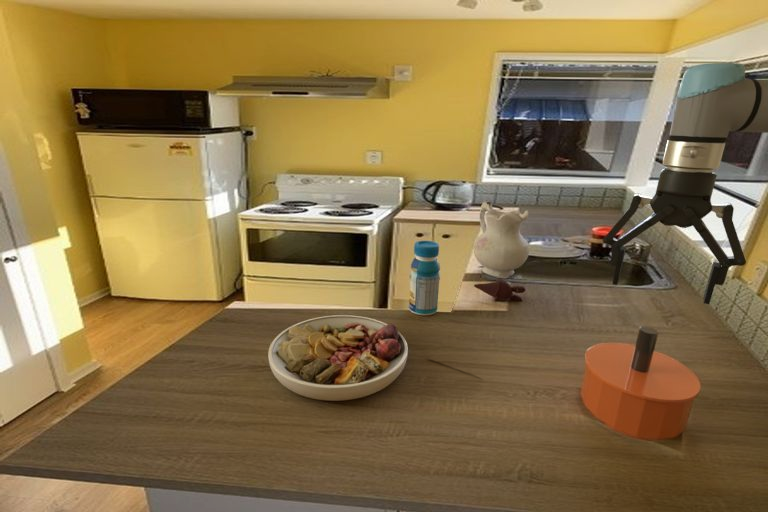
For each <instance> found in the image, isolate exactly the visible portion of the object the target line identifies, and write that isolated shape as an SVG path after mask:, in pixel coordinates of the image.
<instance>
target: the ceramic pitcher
mask: <svg viewBox="0 0 768 512" xmlns="http://www.w3.org/2000/svg"><path fill="white" fill-rule="evenodd" d="M492 203H493V201H492V200H487V199H484V200H483V201H482V204H481V206H480V210H479V223H480V228H481V231H482V233H481V234H480V235H478V236H477V237H475V239H474V242H473V254H474V257H475V259H476V261H477V262H478V263H479V264H480V265H481V266H483V267H482V268H481V270H480V271H481V273H483V274H486V275H489V276H491V277H493V278H497V279H508V278H510V277H511V276H513V275H515V270H517V269H519V268H520V267H522V266H523V265H524V264H525V262H526V261H527V260H528V258H529V255H530V250H531V249H530V248H531V247H530V243H529V242H528V241H527V239H525V238H524V237H523V236H522V234H521V227H522V224H523V223H524V222H525V221H526V220H527V219H528V217H529V210H525V211H524V213H521V212H520V211H519V210H518V211H517V210H511V211H506V212H504V211H500V210H495V209H494V208H493V204H492Z"/></svg>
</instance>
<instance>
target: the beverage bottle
mask: <svg viewBox="0 0 768 512" xmlns="http://www.w3.org/2000/svg"><path fill="white" fill-rule="evenodd" d="M439 253H440V244H439V243H438V242H436V241H433V240H432V241H431V240H418V241H416V242H415V243H414V247H413V254H414V256H415V257H414V258H413V260H412V261H411V264H410V269H411V271H410V273H409V299H408V300H409V301H408V310H409V311H410V312H411V313H412V314H414V315H416V316H417V315H418V316H432V315H434V314H436V313H437V311H438V304H439V303H438V302H439V289H440V280H441V274H440V271H441V265H440V261H439V260H438V258H437V257H439Z"/></svg>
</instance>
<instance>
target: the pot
mask: <svg viewBox="0 0 768 512" xmlns="http://www.w3.org/2000/svg"><path fill="white" fill-rule="evenodd" d="M579 395H580V397H581V400H582V403H583V405H584V406H585V408H587V410H589V412H591V413H592V415H593V416H595V417H596V418H597V419H598V420H600V421H599V422H600V423H601V424H603V426H606V427H607V428H609V429H610V430H613V431H616V432H618V433H620V434H622V435H625V436H627V437H631V438H634V439H638V440H642V441H648V442H652V439H653V440H658V441H659V440H667V439H673V438H674V439H675V438H677V437H678V436H679V435H681V433H683V432H684V431H685V430H686V427H687V424H688V420H689V417H690V414H691V410H692V408H693V404H694V400H695V398H694V399H692V400H689V401H686V402H680V403H665V402H657V401H651V400H646V399H642V398H639V397H635V396H632V395H630V394H627V393H624V392H622V391H620V390H617V389H615V388H613V387H611V386H610V385H608V384H606V383H604V382H603V381H602V380H600V379H599V378H597V377H596V376H595V375H594V374H593V373H592V372H591V371H590V370H589V369H588V367H587V365H586V364H585V368H584V373H583V377H582V383H581V388H580V393H579Z"/></svg>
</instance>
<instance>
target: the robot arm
mask: <svg viewBox="0 0 768 512" xmlns="http://www.w3.org/2000/svg"><path fill="white" fill-rule="evenodd" d="M675 100H676V101H675V106H674V110H673V115H672V121H671V126H670V130H669V135H668V138H667V139H668V140H667V142H666V145H665V150H664V154H663V159H662V165H663V166H664V168H663V169H661V170H660V172H659V177H658V181H657V185H656V189H655V193H654V195H653V196H652V197H650V196H646V195H645V196H644V195H642V194H641V193H636V194H634V195H633V197H632V200H631V202H630V205H629V207H628V208H627V209H626V211H625V212H624V213H623V214H622V215H621V217H619V219H618V220H617V222H615V224H614V225H613V226H612V227H611V229H610V230H609V231H608V232H607V233H606V235H605V236H604V237H603V238H602V243H603V244H605V245H609V246H610V247H611V249H612V251H611V255H610V260H609V264H610V265H611V266H615V269H614V275H613V280H612V285H614V286H618V284H619V282H620V279H621V273H622V269H623V264H624V258H625V254H626V250H627V247H625V245H626V244H628V243H630V242H632V240H634V239H636V238H637V237H638V236H639V235H641V234H643V233H644V232H645V231H647V230H648V229H650V228H651V227H653V226H654V225H656V224H657V223H661V225H663V226H668V227H673V226H675V227H678V228H681V229H687V228H690V227H693V228H694V229H695V231H696V232H697V233H698V234H699V236H700V237H701V239H702V240H703V242H704V243H705V245H706V246H707V247H708V249H709V250H710V252H711V253H712V255H713V256H714V257H715V259H716V261H717V262H716V261H713V262H712V266H711V269H710V272H709V276H708V280H707V283H706V287H705V291H704V293H703V297H702V298H703V299H702V300H703V304H705V305H710V303H711V300H712V296H713V293H714V289H715V286H716V285H717V286H723V285H724V284H725V283H726V278H727V275H728V272H729V269H730V268H731V267H735V266H736V267H737V266H739V267H743V266H745V265H746V263H747V261H746V260H747V259H746V257H745V254H744V252H743V248H742V246H741V242H740V240H739V236H738V233H737V230H736V228H735V224H734V221H733V217H734V209H735V208H734V206H733V204H732V203H730V202H725V203H723V204H722V203H721V204H720V203H719V204H718V203H712V201H711V199H712V195H713V191H714V188H715V183H716V180H717V177H718V175H717V174H716V172H714V171H715V170H718V169H719V168H720V164H721V162H722V158H723V153H724V150H725V146H726V143H727V140H728V137H729V134H730V132H733V133H734V132H735V133H738V132H743V133H744V132H745V133H767V134H768V79H753V78H746V66H745V65H744V64H743V63H740V62H710V63H702V64H701V63H700V64H695V65H691V66H690V67H689V68H687V69H686V70H685V71H684V73H683V76H682V80H681V81H680V84H679V88H678V91H677V95H676V96H675ZM646 205H649V206H650V207H651V210H652V212H653V213H652V214H651V215H650V216H648V217H646V218H645V219H644V220H643V221H641V222H640V223H639V224H638V225H635V227H632V228H631V229H630V230H629V231H627V232H626V233H625V234H622V236H620V237H619V238H616V236H617V235H618V234H619V232H621V230H622V229H623V228H624V227H625V225H627V223H628V222H629V220H630V219H631V218H632V217H633V216H634V215H635V213H636V212H637V211H638V209H639V210H640V209H643V208H644V207H645V206H646ZM711 212H713V213H715V215H716V218H719V219H721V221H722V225H723V228H724V231H725V234H726V237H727V240H728V243H729V246H730V249H731V253H732V255H731V256H730V255H729V256H728V255H727V253H726V252H725V251H724V249H723V248H722V246H721V245H720V244H719V243H718V241H717V239H716V238H715V237H714V235H713V234H712V232H711V231H710V230H709V228H708V226H707V225H706V223H705V222H704V221H703V218H705V217H706V216H707V215H709V214H710V213H711Z"/></svg>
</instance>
